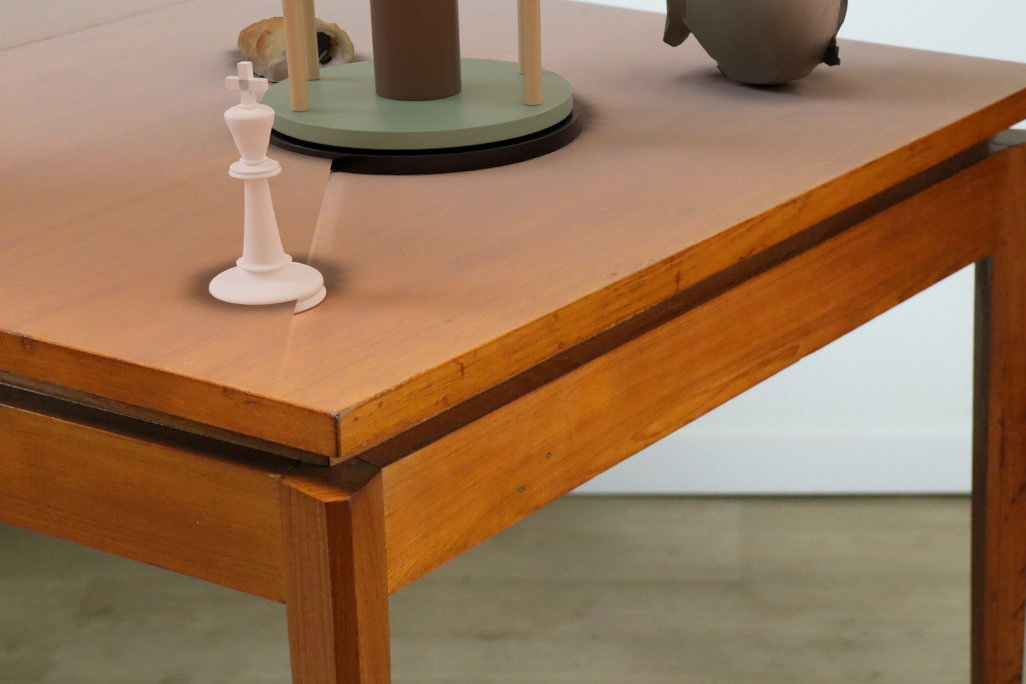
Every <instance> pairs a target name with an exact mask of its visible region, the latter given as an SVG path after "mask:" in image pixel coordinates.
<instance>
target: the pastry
mask: <svg viewBox="0 0 1026 684" xmlns="http://www.w3.org/2000/svg"><path fill="white" fill-rule="evenodd" d="M315 20H316V33H317V46H318V58H319V69H320V68H325V67H330V66H335V65H341V64H347V63H352V62H353V59H354V57H355V46H354V43H353V42H352V41H351V38H350V36H349V34H348V33H347V32H348V31H347V32H346V31H345V30H344V29H341V28H340V26H339V25H338V24H337V22H331V23H329V22H325V21H324V20H323V19H321V18H319V17H315ZM236 45H237V48H238V50H239V54H240V55H241V56H242V57H243V59H244V61H246V62H252V67H253V74H255V75H257V76H259V77H261V76H262V77H263V78H268V82H272V83H278V82H280V81H282V80H285V79H287V78H289V76H288V65H287V53H286V42H285V31H284V19H283V16H273V17H269V18H265V19H261V20H259V21H257V22H253V23H251V24H249V25H248V26H246V27H245V28H244V29H242V30H240V32H239V35H238V38H237V42H236Z"/></svg>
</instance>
